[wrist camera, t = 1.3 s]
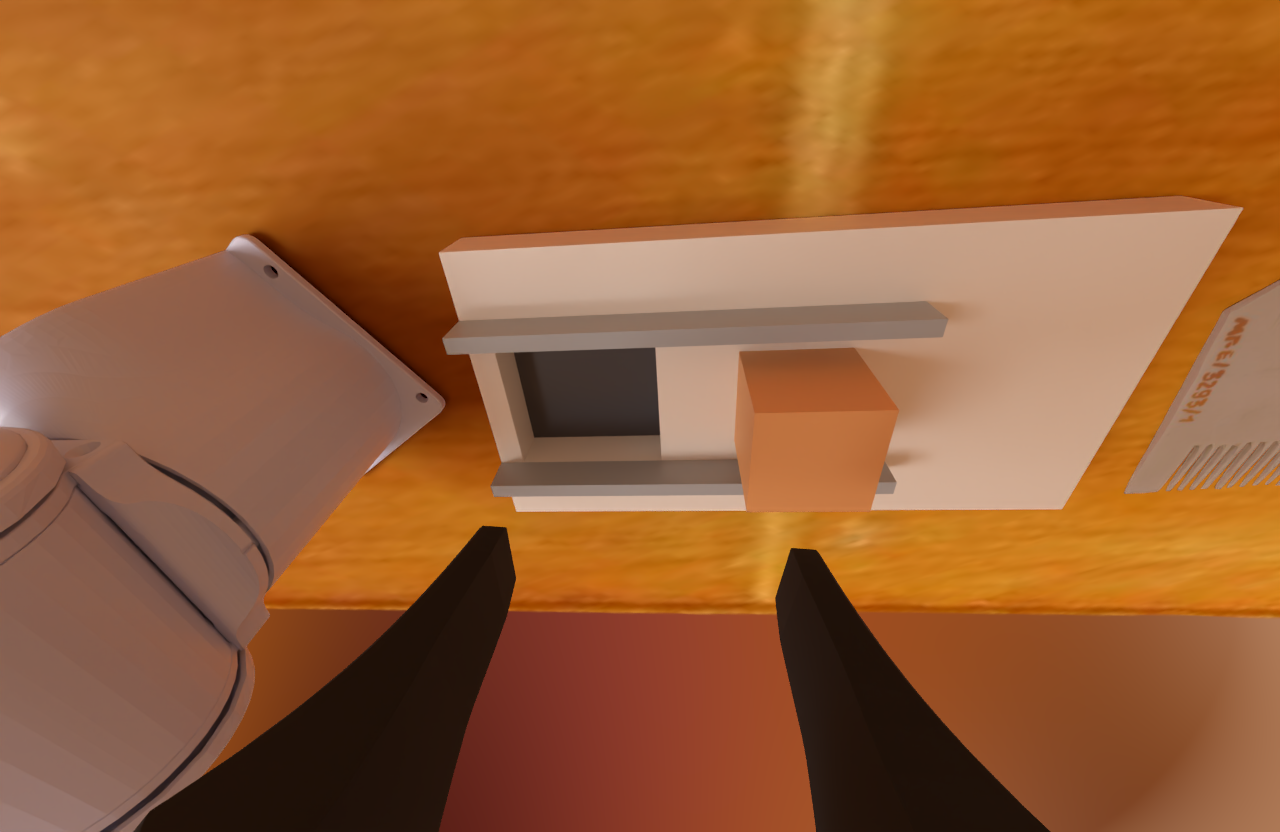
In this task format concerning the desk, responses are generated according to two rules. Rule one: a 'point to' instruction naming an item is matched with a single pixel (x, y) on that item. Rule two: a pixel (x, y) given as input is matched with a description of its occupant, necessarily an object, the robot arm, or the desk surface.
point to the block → (810, 430)
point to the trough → (824, 343)
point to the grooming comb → (1224, 404)
